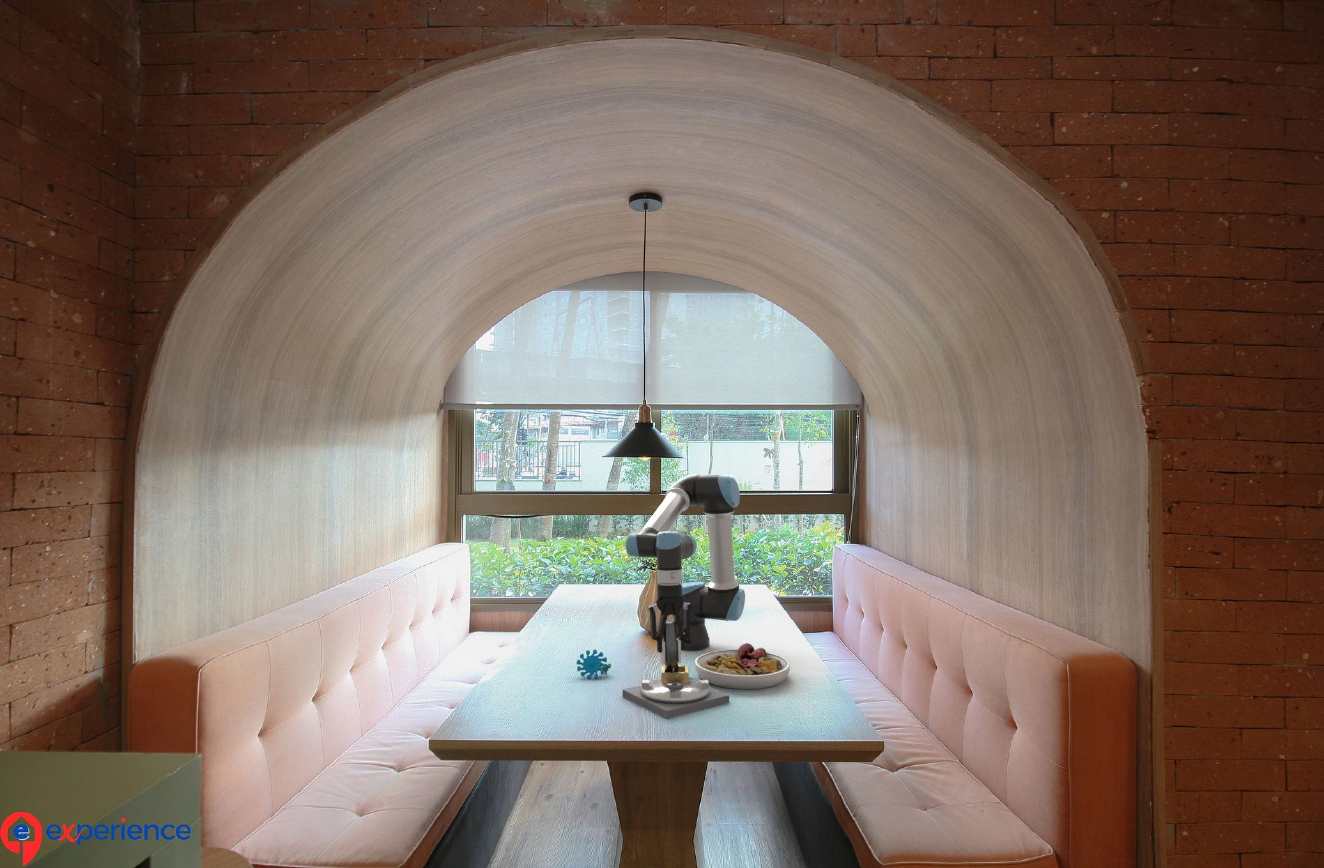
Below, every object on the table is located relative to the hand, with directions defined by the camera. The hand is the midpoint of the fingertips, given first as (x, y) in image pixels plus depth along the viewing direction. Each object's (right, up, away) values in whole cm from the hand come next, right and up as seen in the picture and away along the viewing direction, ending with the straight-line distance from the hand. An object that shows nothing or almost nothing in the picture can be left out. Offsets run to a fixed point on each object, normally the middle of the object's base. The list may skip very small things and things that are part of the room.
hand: (670, 662), depth 203 cm
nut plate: (+1, -8, -7) cm, 11 cm away
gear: (-24, -10, +15) cm, 30 cm away
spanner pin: (0, -4, 0) cm, 4 cm away
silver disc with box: (+1, -6, -7) cm, 9 cm away
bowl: (+23, -10, +14) cm, 29 cm away
